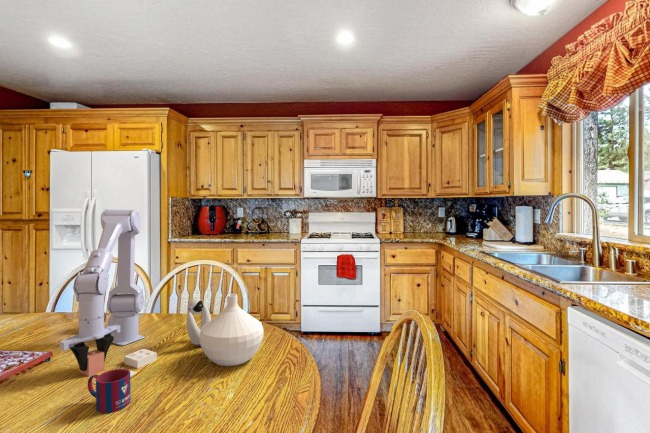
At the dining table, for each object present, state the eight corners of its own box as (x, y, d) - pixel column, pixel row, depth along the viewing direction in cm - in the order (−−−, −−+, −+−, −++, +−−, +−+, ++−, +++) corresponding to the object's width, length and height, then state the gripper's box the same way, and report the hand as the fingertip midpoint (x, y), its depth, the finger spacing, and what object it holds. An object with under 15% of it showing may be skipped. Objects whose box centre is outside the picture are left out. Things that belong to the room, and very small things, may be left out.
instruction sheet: (93, 383, 88) (93, 382, 88) (120, 369, 96) (120, 368, 96) (111, 387, 87) (111, 386, 87) (137, 372, 94) (137, 371, 94)
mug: (111, 416, 75) (111, 385, 75) (78, 407, 78) (77, 377, 78) (137, 399, 81) (136, 371, 81) (105, 392, 84) (105, 364, 84)
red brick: (80, 373, 94) (80, 353, 94) (95, 366, 97) (95, 347, 97) (88, 376, 92) (88, 356, 92) (104, 370, 95) (104, 350, 95)
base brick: (124, 364, 99) (124, 356, 99) (143, 356, 105) (143, 348, 105) (137, 369, 97) (137, 360, 97) (156, 361, 102) (156, 352, 102)
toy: (199, 352, 107) (199, 304, 107) (178, 350, 109) (178, 303, 108) (217, 338, 118) (217, 295, 118) (198, 337, 120) (198, 293, 119)
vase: (185, 367, 98) (185, 299, 97) (225, 343, 115) (225, 285, 114) (241, 379, 91) (241, 307, 91) (274, 351, 108) (274, 290, 108)
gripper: (70, 327, 86) (70, 381, 86) (126, 312, 99) (127, 359, 99) (54, 323, 89) (55, 375, 89) (111, 308, 102) (112, 354, 102)
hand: (92, 366), depth 95 cm, fingers closed on red brick, 4 cm apart
